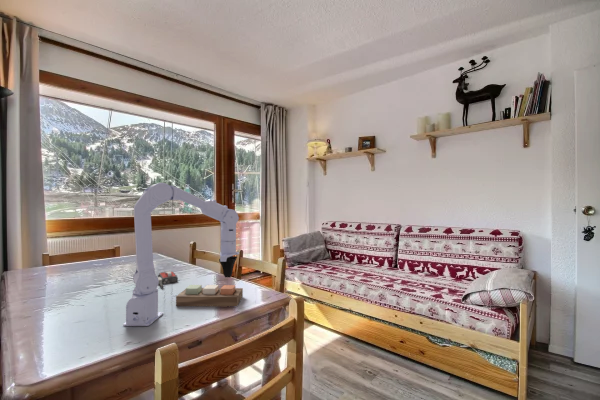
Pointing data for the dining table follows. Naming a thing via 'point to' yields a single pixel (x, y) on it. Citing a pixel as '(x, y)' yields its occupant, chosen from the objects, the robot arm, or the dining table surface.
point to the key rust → (228, 290)
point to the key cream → (210, 289)
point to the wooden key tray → (209, 299)
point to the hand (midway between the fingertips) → (228, 276)
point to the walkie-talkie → (167, 277)
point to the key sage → (193, 289)
